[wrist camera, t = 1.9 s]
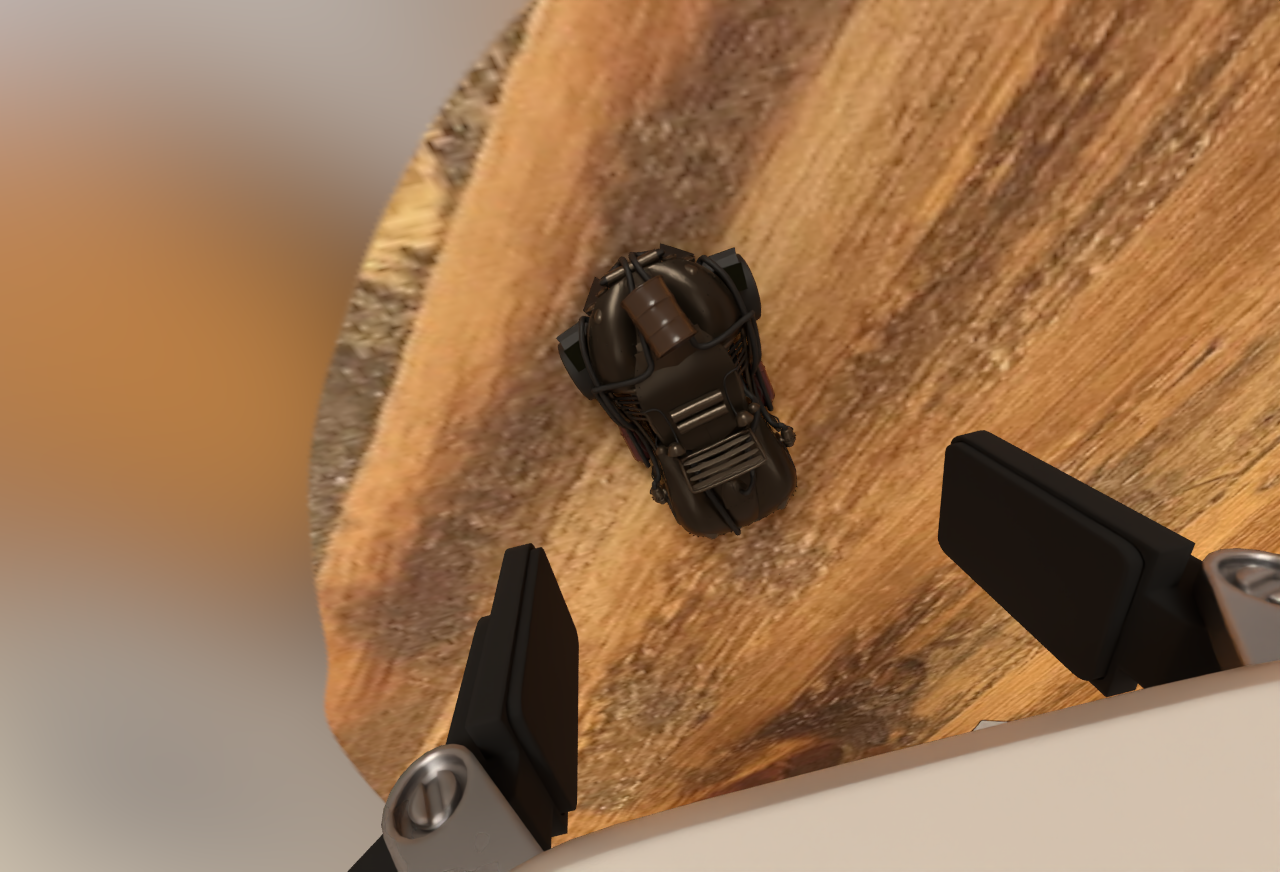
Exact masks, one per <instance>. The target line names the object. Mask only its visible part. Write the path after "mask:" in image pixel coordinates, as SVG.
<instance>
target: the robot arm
mask: <svg viewBox="0 0 1280 872" xmlns="http://www.w3.org/2000/svg"><path fill="white" fill-rule="evenodd" d="M938 541H939V544H940V547H941V548H942V550H943V551H944V553H945V554H946V555H947V556H948V557H950V558H951V559H952V560H953V561H954V562H955V563H956V564H957V565H958V566H959V567H960V568H961V569H962V570H963V571H964V572H965V573H967V574H968V575H969V576H970V577H971V578H972V579H973V580H974V581H975V582H976V583H977V584H978V585H979V586H980V587H981V588H982V589H984V590H985V591H986V592H987V593H988V594H989V595H990V596H991V597H992V598H993V599H994V600H995V601H996V602H997V603H998V604H1000V605H1001V606H1002V607H1003V608H1004V609H1005V610H1006V611H1007V612H1008V613H1009V614H1010V615H1011V616H1012V617H1013V618H1014V619H1015V620H1017V621H1018V622H1019V623H1020V624H1021V625H1022V626H1023V627H1024V628H1025V629H1026V630H1027V631H1028V632H1029V633H1030V634H1031V635H1032V636H1034V637H1035V638H1036V639H1037V640H1038V641H1039V642H1040V643H1041V644H1042V645H1043V646H1044V647H1045V648H1046V649H1047V650H1048V651H1050V652H1051V653H1052V654H1053V655H1054V656H1055V657H1056V658H1057V659H1058V660H1059V661H1060V662H1061V663H1062V664H1063V665H1064V666H1065V667H1067V668H1068V669H1069V670H1070V671H1071V672H1072V673H1073V674H1074V675H1076V676H1077V677H1078V678H1080V679H1082V680H1086V681H1089V682H1090V683H1091V684H1092V685H1094V686H1095V687H1096V688H1097V689H1098V690H1099V691H1100V692H1101V693H1102V694H1103V695H1104V696H1105V697H1109V696H1113V695H1117V694H1121V693H1125V692H1129V691H1133V690H1135V689H1136V687H1137V684H1139V685H1141V686H1142V687H1143V688H1144V689H1141V690H1137V691H1133V692H1129V693H1125V694H1121V695H1117V696H1113V697H1109V698H1105V699H1101V700H1097V701H1093V702H1089V703H1085V704H1080V705H1076V706H1072V707H1068V708H1064V709H1060V710H1056V711H1052V712H1048V713H1044V714H1040V715H1036V716H1032V717H1028V718H1024V719H1020V720H1015V721H1011V722H1007V723H1003V724H999V725H995V726H992V727H988V728H984V729H980V730H976V731H972V732H968V733H964V734H960V735H956V736H952V737H948V738H944V739H940V740H936V741H932V742H928V743H924V744H920V745H916V746H912V747H908V748H904V749H900V750H896V751H892V752H888V753H884V754H880V755H877V756H873V757H869V758H865V759H861V760H857V761H853V762H849V763H845V764H841V765H837V766H833V767H829V768H825V769H822V770H818V771H814V772H810V773H806V774H802V775H798V776H795V777H791V778H787V779H783V780H779V781H775V782H771V783H767V784H764V785H760V786H756V787H752V788H748V789H744V790H740V791H736V792H733V793H729V794H725V795H721V796H717V797H713V798H709V799H706V800H702V801H698V802H695V803H691V804H688V805H684V806H680V807H677V808H673V809H670V810H666V811H662V812H659V813H655V814H652V815H648V816H645V817H641V818H637V819H634V820H630V821H627V822H623V823H619V824H616V825H613V826H610V827H607V828H604V829H601V830H598V831H595V832H592V833H589V834H586V835H583V836H580V837H577V838H575V839H572V840H569V841H567V842H565V843H562V844H560V845H558V846H556V847H553V848H551V837H554V836H558V835H562V834H566V833H567V826H568V812H569V811H573V810H575V809H576V805H577V765H578V665H579V642H578V635H577V631H576V628H575V625H574V623H573V620H572V618H571V615H570V613H569V610H568V608H567V605H566V603H565V600H564V598H563V596H562V593H561V591H560V588H559V586H558V583H557V581H556V578H555V576H554V573H553V571H552V568H551V566H550V563H549V561H548V559H547V556H546V554H545V551H544V549H543V548H542V547H540V548H536V549H535V547H534V545H533V544H532V543H529V544H525V545H521V546H517V547H513V548H509V549H507V550H506V551H505V554H504V558H503V562H502V567H501V571H500V575H499V580H498V584H497V588H496V593H495V597H494V601H493V606H492V610H491V614H490V615H489V616H485V617H482V618H481V619H480V620H479V621H478V623H477V626H476V629H475V633H474V637H473V641H472V645H471V649H470V652H469V656H468V660H467V664H466V668H465V672H464V676H463V680H462V683H461V687H460V691H459V695H458V699H457V703H456V707H455V711H454V714H453V718H452V722H451V726H450V730H449V734H448V738H447V742H446V745H442V746H439V747H437V748H435V749H432V750H430V751H428V752H426V753H425V754H424V755H422V756H421V757H420V758H418V759H417V760H416V761H414V762H413V763H412V764H411V765H410V766H409V767H408V768H407V770H406V771H405V772H404V773H403V774H402V775H401V776H400V778H399V779H398V781H397V782H396V784H395V785H394V787H393V789H392V790H391V792H390V794H389V797H388V799H387V802H386V804H385V807H384V810H383V817H382V824H381V826H382V831H383V834H382V835H381V837H380V838H379V839H378V840H377V841H376V842H375V843H374V844H373V845H372V846H371V847H370V848H369V849H368V850H367V851H366V853H365V854H364V855H363V856H362V857H361V858H360V859H359V860H358V861H357V862H356V863H355V864H354V865H353V866H352V867H351V869H350V870H349V871H348V872H1280V554H1275V553H1270V552H1265V551H1260V550H1252V549H1241V548H1233V549H1220V550H1218V551H1215V552H1212V553H1209V554H1208V555H1207V556H1206V557H1205V559H1204V560H1203V561H1201V560H1199V559H1197V558H1195V557H1194V556H1192V555H1191V553H1192V550H1193V548H1194V545H1195V543H1194V542H1192V541H1190V540H1188V539H1186V538H1185V537H1183V536H1181V535H1179V534H1177V533H1175V532H1173V531H1172V530H1170V529H1168V528H1166V527H1164V526H1162V525H1160V524H1159V523H1157V522H1155V521H1153V520H1151V519H1149V518H1147V517H1146V516H1144V515H1142V514H1140V513H1138V512H1136V511H1134V510H1133V509H1131V508H1129V507H1127V506H1125V505H1123V504H1122V503H1120V502H1118V501H1116V500H1114V499H1112V498H1110V497H1109V496H1107V495H1105V494H1103V493H1101V492H1099V491H1097V490H1096V489H1094V488H1092V487H1090V486H1088V485H1086V484H1084V483H1083V482H1081V481H1079V480H1077V479H1075V478H1073V477H1071V476H1070V475H1068V474H1066V473H1064V472H1062V471H1060V470H1058V469H1057V468H1055V467H1053V466H1051V465H1049V464H1047V463H1046V462H1044V461H1042V460H1040V459H1038V458H1036V457H1034V456H1033V455H1031V454H1029V453H1027V452H1025V451H1023V450H1021V449H1020V448H1018V447H1016V446H1014V445H1012V444H1010V443H1008V442H1007V441H1005V440H1003V439H1001V438H999V437H997V436H995V435H994V434H992V433H990V432H988V431H985V430H980V431H976V432H972V433H968V434H964V435H960V436H957V437H955V438H953V440H952V441H951V445H949V446H947V448H946V451H945V461H944V473H943V484H942V495H941V506H940V518H939V529H938Z"/></svg>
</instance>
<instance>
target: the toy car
mask: <svg viewBox="0 0 1280 872" xmlns="http://www.w3.org/2000/svg"><path fill="white" fill-rule="evenodd" d="M628 256H629V259H630V260H631V261H629V262H627V260H626V259H625V258H624V257H621V258H619V260H618V262H617V263H616V264H615V265H614V266H613V267H612V268H611V269H610V270H609V271H608V272H607V273H606V274H604V276H603V277H602V278H601V279H600V280H599V279H598V278H596V277H595V278H594V281H593V284H592V287H591V290H590V292H589V295H588V298H587V301H586V304H585V307H584V309H583V311H584V312H585V313H587V314H588V315H589V316H590V317H587V316H582V317H580V319H579V322H578V323H577V324H575V325H574V326H572V327H571V328H570V329H568V330H567V331H565V332H564V333H562V334H561V335H559V336H558V337H557V338H556V339H557V340H558V341H559V342H560V343H559V344H558V350H559V354H560V357H561V360H562V362H563V364H564V366H565V368H566V370H567V371H568V373H569V375H570V377H571V378H572V380H573V381H574V383H575V385H576V386H577V387H578V389H579V390H580V391H581V393H582V394H583V395H584V396H585V397H587V398H588V399H589V400H593V399H597V400H598V402H599V403H600V405H601V406H602V407H603V409H604V410H605V411H606V413H607V414H608V415H609V416H610V418H611V419H612V420H613V421H614V422H615V423H616V424H617V425H618V427H619V430H620V432H621V435H622V436H623V438H624V440H625V442H626V444H627V446H628V448H629V450H630V451H631V453H632V455H633V457H634V459H635V460H637V461H641V462H642V463H644V464H645V466H646V467H647V468H649V467H650V466H651V465H650V463H649V460H650V458H651V460H652V463H653V465H652V478H653V476H654V478H653V480H654V481H653V482H652V487H651V490H650V494H652V495H653V497H652V498H653V500H655V502H657V503H660V504H665V503H666V502H667V503H668V505H669V507H670V509H671V511H672V513H673V515H674V517H675V519H676V521H677V523H678V524H679V525H682V527H683V528H684V529H685V530H686V531H688V532H690V533H689V534H694V535H697V536H698V537H699V536H703V537H707V538H709V539H715V538H717V537H718V536H719V535H721V534H723V535H724V534H726V533H729V532H732V531H734V533H735V534H736V535H740V534H741V530H740V528H742V527H744V526H747V525H748V526H749V525H750V524H752V523H753V522H756V521H758V520H761V519H763V518H765V517H767V516H768V515H770V514H771V513H774V511H776V510H777V509H778V510H779V509H784V508H786V506H787V504H788V501H789V500H790V497H791V496H792V494H793V492H794V490H795V488H796V487H797V486H796V485H797V476H796V469H795V466H794V463H793V461H792V459H791V456H790V454H789V452H788V450H787V448H786V447H791V446H793V445H794V442H795V440H796V437H795V436H796V435H795V433H793V428H792V427H790V426H786V425H785V424H784V423H780V422H779V419H778V418H777V417H775V416H773V415H770V414H769V413H768V412H767V411H766V409H765V407H764V406H767V408H768V410H769V411H773V405H772V402H773V401H772V400H773V399H774V397H775V393H774V390H773V388H772V385H771V383H770V380H769V378H768V375H767V372H766V370H765V366H764V365H763V363H762V361H761V356H762V353H761V343H760V337H759V332H758V328H757V324H756V320H758V319H760V317H761V302H760V297H759V293H758V289H757V286H756V283H755V280H754V277H753V275H752V273H751V270H750V268H749V267H748V265H747V263H746V262H745V260H744V259H743V258H742V257H741V256H740V255H739V254H736V252H735V248H731V249H728V250H726V251H723V252H720V253H717V254H714V255H711V256H709V257H707V256H706V255H702V256H700V257H699V258H698V260H697V262H696V263H695V262H694V261H695V256H694V254H692V253H689V252H686V251H683V250H680V249H677V248H674V247H671V246H667V245H664V244H661V243H660V249H656V250H655V249H653V250H650V251H644V252H630V253H629V255H628ZM661 260H662V261H663V262H662V261H661ZM608 288H610V289H609V290H608ZM739 333H741V338H740V339H739V340H738V341H737V343H736V344H735V345H734V342H733V341H734V339H735V338H736V336H737V335H738V334H739ZM746 338H747V342H746ZM741 341H742V343H741ZM740 343H741V344H740ZM747 343H748V345H747ZM739 344H740V346H739V347H738V348H737V350H736V351H735V348H736V347H737V346H738V345H739ZM741 347H742V352H741V353H740V354H739V357H738V359H737V355H736V354H737V353H738V351H739V350H740V349H741ZM728 350H730V351H729V352H728ZM729 355H731V357H730V356H729ZM739 360H741V361H740V363H738V362H739ZM740 366H741V370H740ZM742 374H743V376H742ZM743 377H744V378H745V380H746V382H747V384H745V382H744V379H743ZM746 385H747V386H748V389H747V387H746ZM613 393H625V394H631V396H632V397H616V396H615V395H614V394H613ZM745 396H746V397H748V398H750V399H751V401H752V403H751V404H748V402H747V399H746V397H745ZM619 400H634V401H619ZM614 402H615V403H616V404H615V403H614ZM623 404H636V406H637V408H633V407H627V406H623ZM616 405H617V406H618V407H619V408H620V409H619V408H618V407H617V406H616ZM629 409H630V410H636V411H639V412H632V411H629ZM632 414H636V415H641V416H642V417H643V418H641V417H635V416H634V415H632ZM761 414H762V416H763V418H762V416H761ZM774 417H775V418H776V419H777V420H778V423H777V421H776V419H775V418H774ZM764 419H765V421H766V423H765V421H764ZM638 420H644V421H645V423H646V425H647V427H648V429H649V431H650V433H651V435H652V437H653V438H654V440H655V444H654V442H653V441H652V439H651V438H650V436H649V435H648V434H647V432H646V431H645V430H644V428H643V427H642V426H641V424H640V423H639V421H638ZM767 422H768V423H769V424H770V425H771V426H772V427H773V428H774V429H775V430H777V431H778V432H780V431H781V436H780V435H779V434H778V433H777V432H776V433H773V431H772V430H771V427H770V426H769V424H768V423H767ZM767 425H768V426H769V427H768V426H767ZM769 428H770V429H769ZM781 428H782V429H781ZM770 430H771V431H772V432H771V431H770ZM772 433H773V434H772ZM652 449H653V450H652ZM653 451H654V452H653ZM654 454H655V455H654ZM659 461H660V462H659ZM660 463H661V465H662V468H661V465H660ZM662 469H663V470H662ZM663 472H664V474H663ZM661 475H662V478H663V480H664V483H663V484H662V485H661V484H660V480H661ZM664 475H665V477H664ZM665 478H666V480H665ZM660 486H661V487H660ZM795 491H796V490H795ZM793 496H794V495H793ZM694 535H693V536H694Z"/></svg>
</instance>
